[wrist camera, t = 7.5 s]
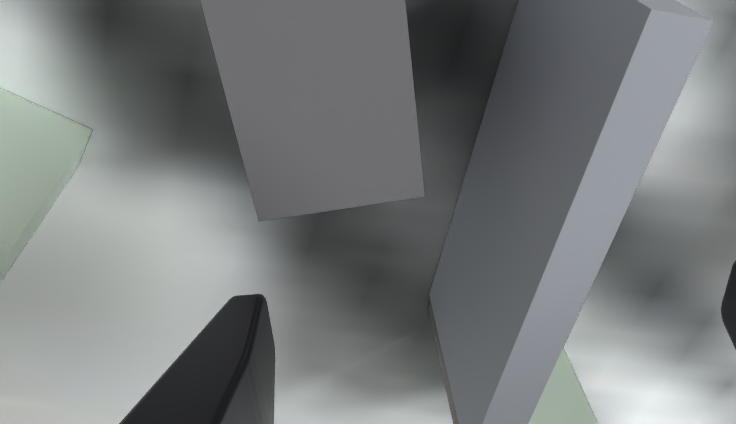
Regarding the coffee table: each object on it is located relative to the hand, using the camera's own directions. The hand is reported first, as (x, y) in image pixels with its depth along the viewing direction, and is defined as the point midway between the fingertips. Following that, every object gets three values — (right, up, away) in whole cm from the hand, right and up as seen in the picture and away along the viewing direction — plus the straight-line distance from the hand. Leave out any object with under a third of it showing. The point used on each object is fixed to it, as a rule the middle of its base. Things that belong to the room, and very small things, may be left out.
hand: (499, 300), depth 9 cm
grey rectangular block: (-3, +6, +10) cm, 12 cm away
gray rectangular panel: (+2, +3, +12) cm, 13 cm away
